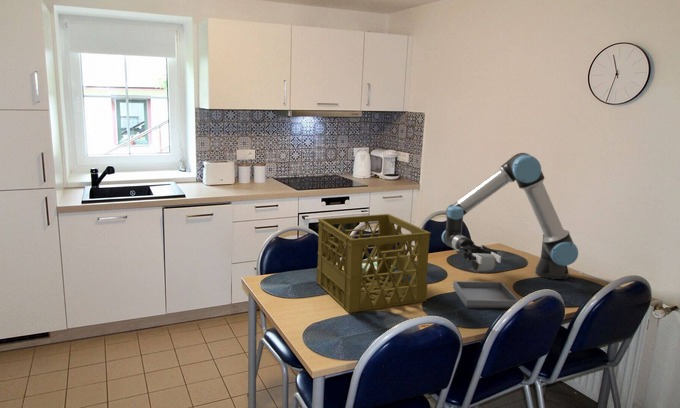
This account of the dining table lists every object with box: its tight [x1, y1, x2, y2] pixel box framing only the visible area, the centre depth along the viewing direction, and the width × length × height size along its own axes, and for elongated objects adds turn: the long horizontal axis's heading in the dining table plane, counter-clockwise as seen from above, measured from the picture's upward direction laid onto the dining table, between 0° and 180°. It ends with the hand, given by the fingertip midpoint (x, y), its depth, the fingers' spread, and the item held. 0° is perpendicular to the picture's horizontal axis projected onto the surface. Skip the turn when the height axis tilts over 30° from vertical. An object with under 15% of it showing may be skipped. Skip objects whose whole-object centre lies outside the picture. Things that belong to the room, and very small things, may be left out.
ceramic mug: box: [470, 253, 497, 272], centre depth 219 cm, size 11×8×8 cm
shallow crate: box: [452, 280, 520, 309], centre depth 219 cm, size 22×22×3 cm
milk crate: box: [316, 213, 432, 313], centre depth 218 cm, size 35×36×30 cm
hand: (490, 260), depth 212 cm, fingers closed on ceramic mug, 8 cm apart
